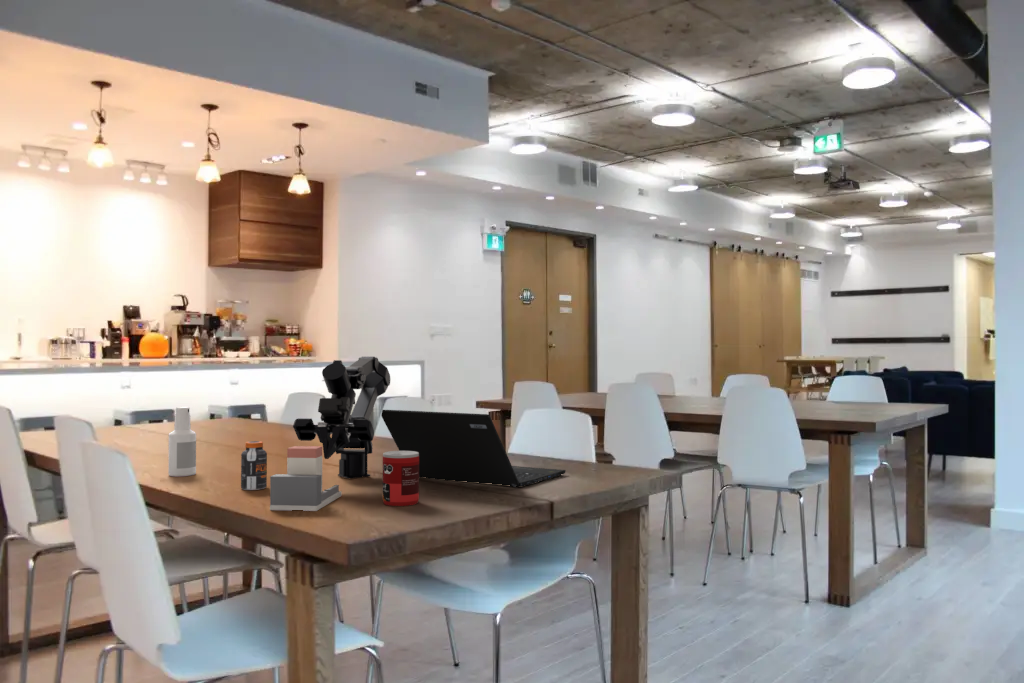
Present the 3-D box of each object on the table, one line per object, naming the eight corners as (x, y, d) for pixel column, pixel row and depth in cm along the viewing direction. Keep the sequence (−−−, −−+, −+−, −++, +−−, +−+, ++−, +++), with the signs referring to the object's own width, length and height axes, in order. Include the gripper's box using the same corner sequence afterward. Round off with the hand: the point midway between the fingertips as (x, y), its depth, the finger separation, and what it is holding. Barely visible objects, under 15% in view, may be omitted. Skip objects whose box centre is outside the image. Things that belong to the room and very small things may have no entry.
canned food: (386, 499, 177) (386, 450, 177) (421, 499, 177) (421, 450, 177) (379, 506, 170) (379, 455, 170) (416, 506, 169) (416, 455, 169)
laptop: (567, 477, 211) (567, 404, 211) (489, 500, 179) (489, 414, 179) (465, 466, 228) (465, 399, 228) (377, 486, 196) (377, 408, 197)
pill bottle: (258, 491, 188) (258, 443, 188) (236, 490, 189) (236, 442, 189) (271, 486, 194) (271, 440, 194) (249, 485, 195) (249, 439, 195)
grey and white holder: (299, 494, 183) (299, 464, 183) (341, 495, 182) (341, 465, 182) (269, 510, 166) (269, 476, 166) (316, 510, 165) (316, 477, 165)
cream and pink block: (294, 495, 174) (294, 446, 174) (322, 496, 174) (322, 446, 174) (287, 499, 170) (287, 448, 170) (316, 500, 170) (316, 448, 170)
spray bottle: (189, 476, 208) (189, 408, 208) (163, 476, 208) (164, 408, 208) (200, 472, 215) (200, 406, 215) (175, 472, 215) (175, 406, 215)
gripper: (295, 385, 192) (278, 436, 181) (370, 385, 190) (357, 437, 179) (307, 414, 200) (291, 465, 189) (379, 415, 198) (367, 466, 187)
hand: (325, 457), depth 186 cm, fingers closed
